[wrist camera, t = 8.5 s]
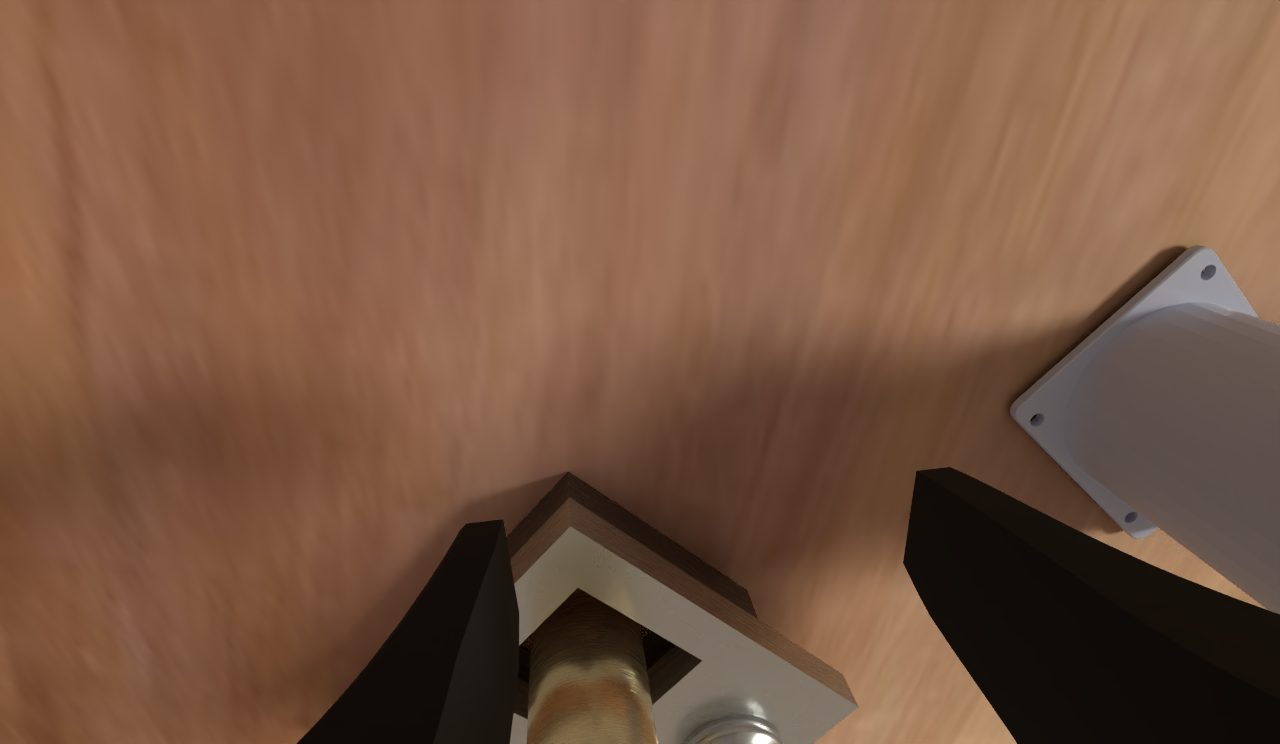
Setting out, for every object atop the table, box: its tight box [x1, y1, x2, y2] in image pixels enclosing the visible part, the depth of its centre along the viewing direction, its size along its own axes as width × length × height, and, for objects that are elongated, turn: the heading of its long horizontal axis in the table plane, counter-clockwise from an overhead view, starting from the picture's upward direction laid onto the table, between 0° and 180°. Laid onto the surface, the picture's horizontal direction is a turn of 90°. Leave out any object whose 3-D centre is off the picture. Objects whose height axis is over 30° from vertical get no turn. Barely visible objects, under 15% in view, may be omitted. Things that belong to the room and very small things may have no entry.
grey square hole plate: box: [510, 497, 858, 744], centre depth 24 cm, size 14×9×4 cm, turn 48°
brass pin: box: [527, 588, 658, 744], centre depth 21 cm, size 4×4×9 cm
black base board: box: [506, 472, 758, 683], centre depth 25 cm, size 14×9×2 cm, turn 138°
